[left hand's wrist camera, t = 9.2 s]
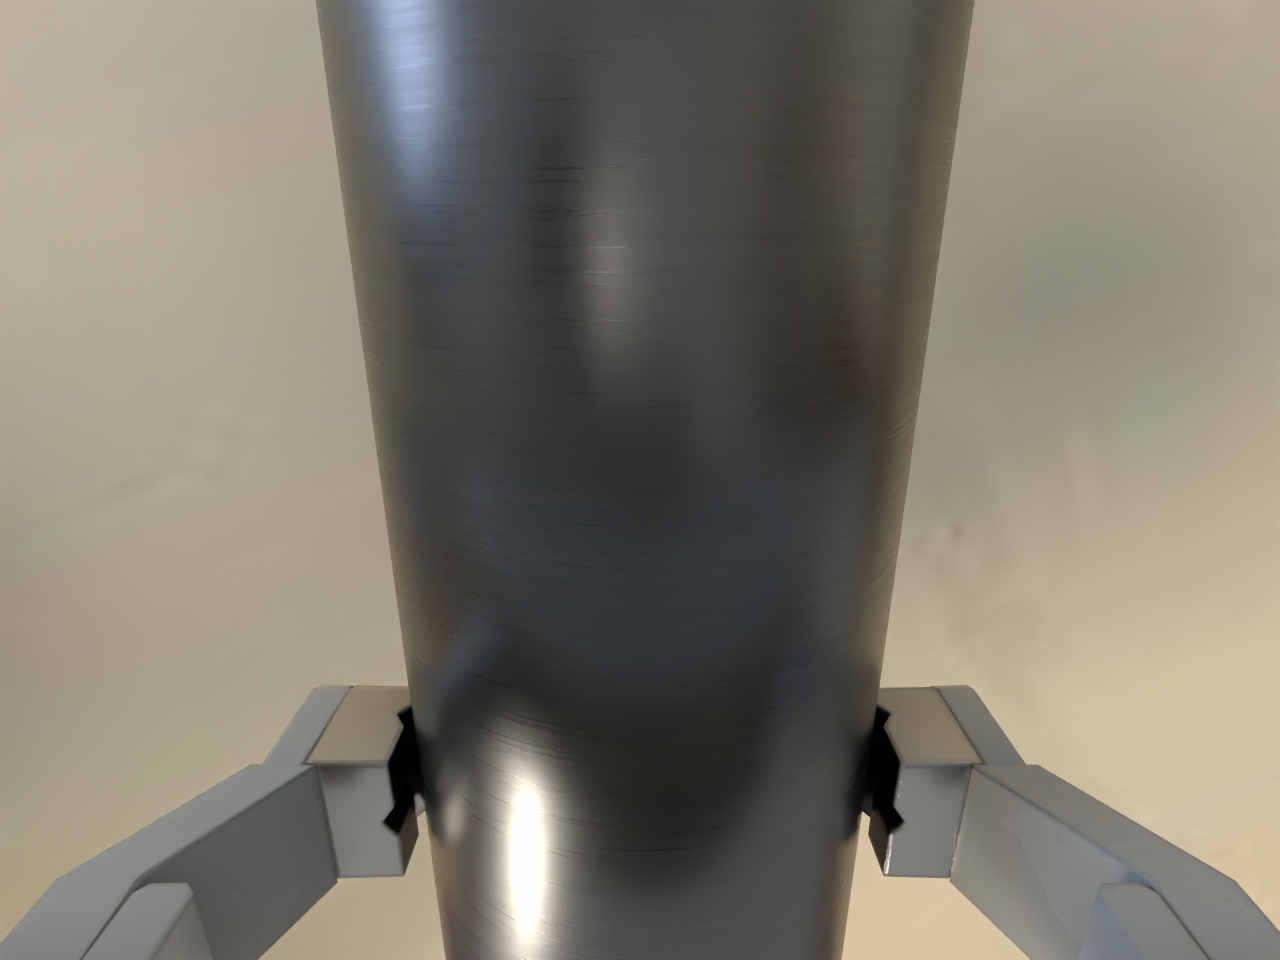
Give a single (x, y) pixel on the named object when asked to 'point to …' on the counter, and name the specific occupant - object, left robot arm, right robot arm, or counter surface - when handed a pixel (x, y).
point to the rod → (644, 440)
